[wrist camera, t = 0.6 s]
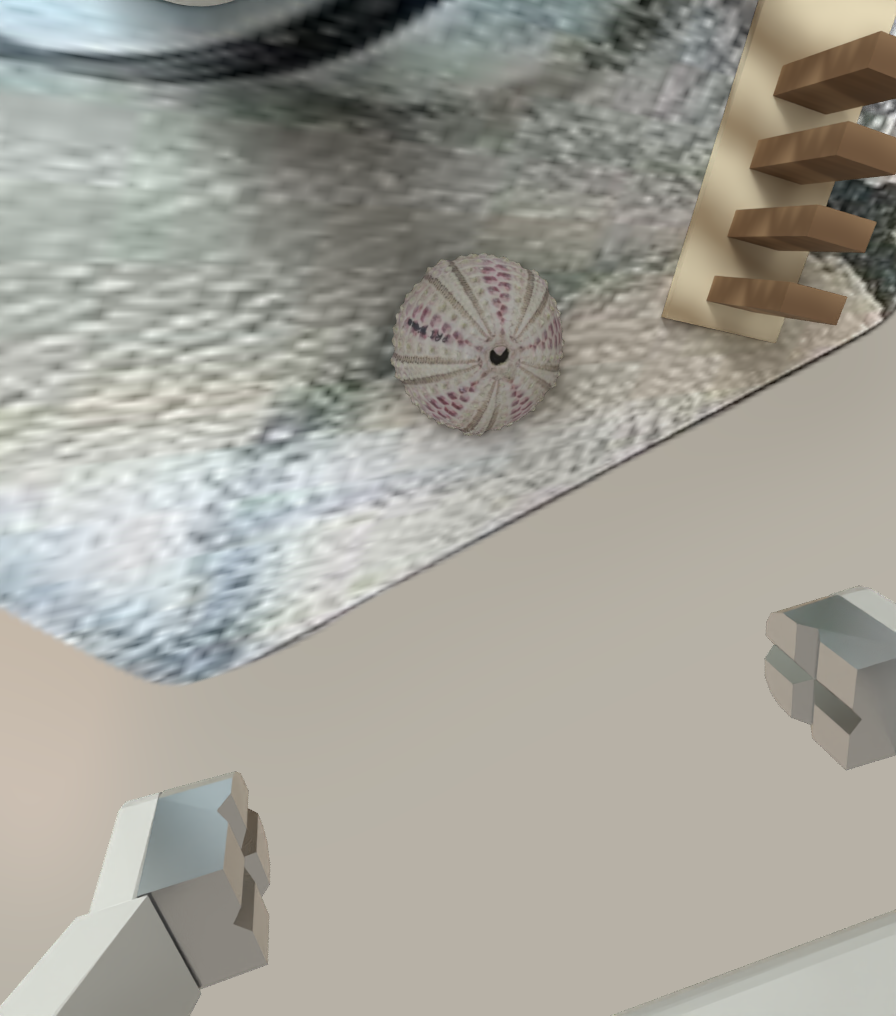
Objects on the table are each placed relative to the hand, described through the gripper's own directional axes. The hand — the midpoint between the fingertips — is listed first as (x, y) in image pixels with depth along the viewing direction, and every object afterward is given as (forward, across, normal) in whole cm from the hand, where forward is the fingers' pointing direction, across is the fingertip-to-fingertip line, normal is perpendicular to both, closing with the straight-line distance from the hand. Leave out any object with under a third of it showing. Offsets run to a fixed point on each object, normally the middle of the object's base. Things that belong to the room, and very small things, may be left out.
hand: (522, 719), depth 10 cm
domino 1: (+44, -39, -10) cm, 59 cm away
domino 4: (+43, -33, +4) cm, 55 cm away
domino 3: (+44, -35, 0) cm, 56 cm away
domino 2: (+44, -37, -5) cm, 57 cm away
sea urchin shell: (+45, -10, +3) cm, 46 cm away
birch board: (+44, -37, -6) cm, 58 cm away
